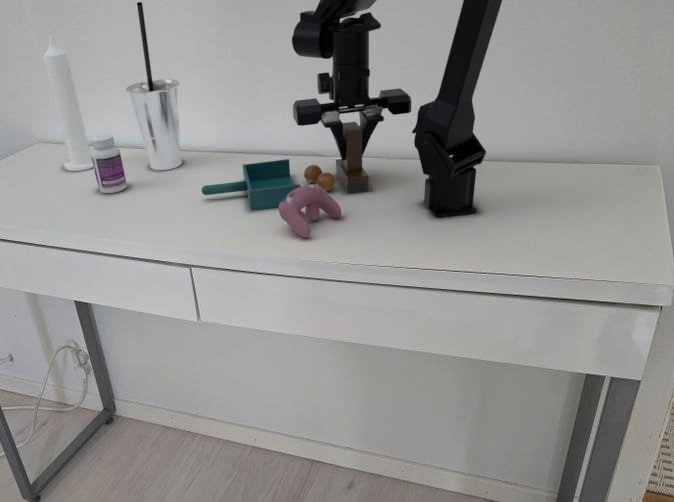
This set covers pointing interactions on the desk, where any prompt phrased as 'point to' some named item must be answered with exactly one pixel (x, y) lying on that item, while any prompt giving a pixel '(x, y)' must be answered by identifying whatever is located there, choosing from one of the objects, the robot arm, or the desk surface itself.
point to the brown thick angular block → (352, 161)
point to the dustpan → (260, 184)
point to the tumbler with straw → (157, 113)
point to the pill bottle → (107, 164)
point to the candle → (67, 108)
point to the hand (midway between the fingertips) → (351, 158)
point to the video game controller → (307, 207)
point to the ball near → (326, 181)
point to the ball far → (312, 173)
